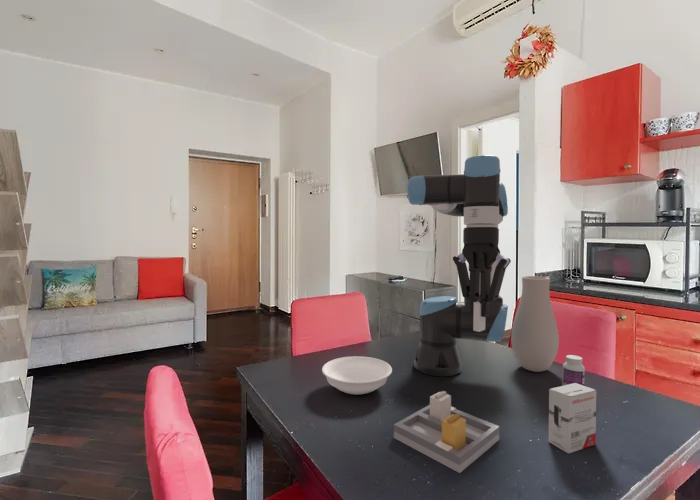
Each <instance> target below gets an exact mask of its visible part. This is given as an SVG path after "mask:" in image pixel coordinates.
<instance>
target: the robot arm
mask: <svg viewBox="0 0 700 500" xmlns="http://www.w3.org/2000/svg"><path fill="white" fill-rule="evenodd" d="M500 161H501V160H500V158H499V157H498V156H497V155H493V154H491V155H490V154H488V155H487V154H481V155H480V154H479V155H473V156H470V157H468V158H466V159H465V161H464V169H463V173H451V174H436V175H435V174H433V175H424V174H422V175H421V174H420V175H417V176H411V177H409V179H408V182H407V200H408V202H409V204H410V205H413V206H414V205H416V206H428V205H429V206H431V207H432V209H433V210H434V211H436V212H437V213H439V214H443V215H447V216H452V217H463V225H465V227H464V228H463V239H462V241H463V248H462V250H461V252H460V253H459V254H457V255H455V256H453V257H452V261H453V262H454V264H455V266H456V269H457V275H458V281H459V284H460V291H461V295H462V297H463V298H464V299H463V301H458V299H457V297H456V296H449V295H442V296H431V297H428V298H425V299H423V300H422V301H421V302H420V307H419V314H418V315H419V345H418V347H417V350H416V354H415V357H414V360H413V363H414V364H413V365H414V368H415V369H416V371H417V372H420V373H421V374H422V373H423V374H425V375H429V376H433V377H436V376H437V377H452V376H457V375H458V374H460V373H461V372H462V360H461V357H460V354H459V351H458V348H457V340H459V339H460V340H470V341H478V342H479V341H480V342H485V343H489V342H490V343H491V342H492V343H493V342H494V343H499V342H501V341H502V340H503V339H504V337H505V329H506V324H507V318H508V317H507V316H508V308H509V306H508V305H507V304H505V303H503V302H504V300H503V299H504V298H503V297H502V296H501V295H500V292H501V288H502V286H503V285H502V284H503V282H504V278H505V273H506V270H507V269H508V267H509V265H510V263H511V261H512V260H511V259H510V257H509V258H508V257H507V258H506V257H505V256H504V255H502V254H501V251H500V248H499V244H500V243H499V242H500V236H499V233H500V229H499V225H500V224H501V223H502V222H503V221H504V217H506V216H507V215H508V213H509V209H508V197H507V190H506V187H505V184H503V183H502V182H501V181H500V180H501V178H500V177H501V164H500V163H501V162H500ZM466 262H467V263H468V267H467V263H466Z"/></svg>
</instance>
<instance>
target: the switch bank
mask: <svg viewBox="0 0 700 500" xmlns="http://www.w3.org/2000/svg"><path fill="white" fill-rule="evenodd" d="M452 414H454V415H455V414H460V417H461V418H464V419H466V444H465V446H464V447H463V448H461V449H460V450H459V451H457V450H455V449H453V447H451V446H449V445H447V444H445V443H443V442H442V421H440V420H438V419H436V418H433V417H431V416H430V404H428V405H427V406H425V407H422V408H421V409H420V410H417V411H415V412H414V413H412V414H410V415H408V416H406V417H405V418H403V419H401V420H399V421H398V422H395V423H394V424H393V438H394V439H395V440H397V441H398V442H401V443H403V444H404V445H406V446H408V447H410V448H412V449H414V450H415V451H418V452H420V453H421V454H423V455H425V456H427V457H429V458H430V459H432V460H435V461H436V462H438V463H440V464H442V465H444V466H445V467H448V468H449V469H451V470H453V471H454V472H456V473H458V474H460V473H462V472H463V471H464V470H466V469H467V468H468V467H469V466H470V465H471V464H473V463H474V462H475V461H476V460H477V459H478V458H480V457H481V456H482V455H483V454H484V453H486V452H487V451H488V450H489V449H491V447H493V446H494V445H495V444H496V443H497V442H499V440H500V425H497V424H495V423H492V422H489V421H487V420H484V419H482V418H479V417H477V416H475V415H472V414H470V413H467V412H464V411H463V410H459V409H457V407H454V406H452V405H451V415H452Z"/></svg>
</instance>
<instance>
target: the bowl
mask: <svg viewBox="0 0 700 500" xmlns="http://www.w3.org/2000/svg"><path fill="white" fill-rule="evenodd" d="M321 372H322V374H323V375H324V376H325V377H326V380H327V382H328V384H329V385H330V386H332V387H334V388H336V389H337V390H338V391H341V392H343V393H345V394H349V395H356V396H357V395H364V394H369V393H372V392H374V391H375V390H378V389H379V388H381V387H383V386H384V385H385V384H386V383H387V380H388V378H389V376H391V374H392V373H393V367H392V366H391V365H390V364H389V363H388V362H387V361H385V360H382V359H379V358H375V357H369V356H356V355H354V356H342V357H338V358H334V359H332V360H329V361H328V362H326V363H324V365H322V368H321Z"/></svg>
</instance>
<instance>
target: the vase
mask: <svg viewBox="0 0 700 500" xmlns="http://www.w3.org/2000/svg"><path fill="white" fill-rule="evenodd" d="M521 283H522V284H521V286H522V288H521V296H520V301H519V305H518V307H517V310H516V313H515V316H514V320H513V323H512V327H511V333H510V335H511V337H510V338H511V339H510V340H511V347H512V350H513V353H514V355H515V358H516V360H517V362H518V364H519V365H520V366H521V367H522V368H523V369H525V370H527V371H529V372H534V373H535V372H536V373H541V372H545V371H547V370H548V369H549V368H550V367H551V366H552V364H553V363H554V361H555V358H556V356H557V354H558V350H559V343H560V337H559V330H558V325H557V321H556V317H555V313H554V310H553V306H552V303H551V297H550V295H551V293H550V283H551V278H550V277H548V276H547V277H546V276H538V275H536V276H535V275H528V276H522V277H521Z"/></svg>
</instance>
